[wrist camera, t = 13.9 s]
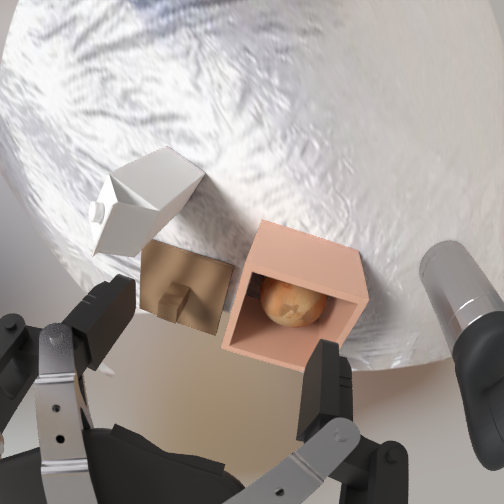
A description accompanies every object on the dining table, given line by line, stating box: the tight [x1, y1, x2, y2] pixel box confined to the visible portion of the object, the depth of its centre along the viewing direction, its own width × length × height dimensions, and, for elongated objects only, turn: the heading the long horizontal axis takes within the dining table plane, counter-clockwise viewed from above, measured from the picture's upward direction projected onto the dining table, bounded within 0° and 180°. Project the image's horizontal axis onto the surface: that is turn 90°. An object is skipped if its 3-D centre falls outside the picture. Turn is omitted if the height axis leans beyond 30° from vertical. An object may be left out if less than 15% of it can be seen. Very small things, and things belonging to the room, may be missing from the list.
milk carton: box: [89, 146, 205, 257], centre depth 36 cm, size 7×7×19 cm
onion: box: [260, 276, 327, 328], centre depth 44 cm, size 10×10×10 cm
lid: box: [140, 239, 234, 336], centre depth 50 cm, size 16×16×7 cm
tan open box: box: [221, 220, 369, 372], centre depth 43 cm, size 15×15×12 cm
